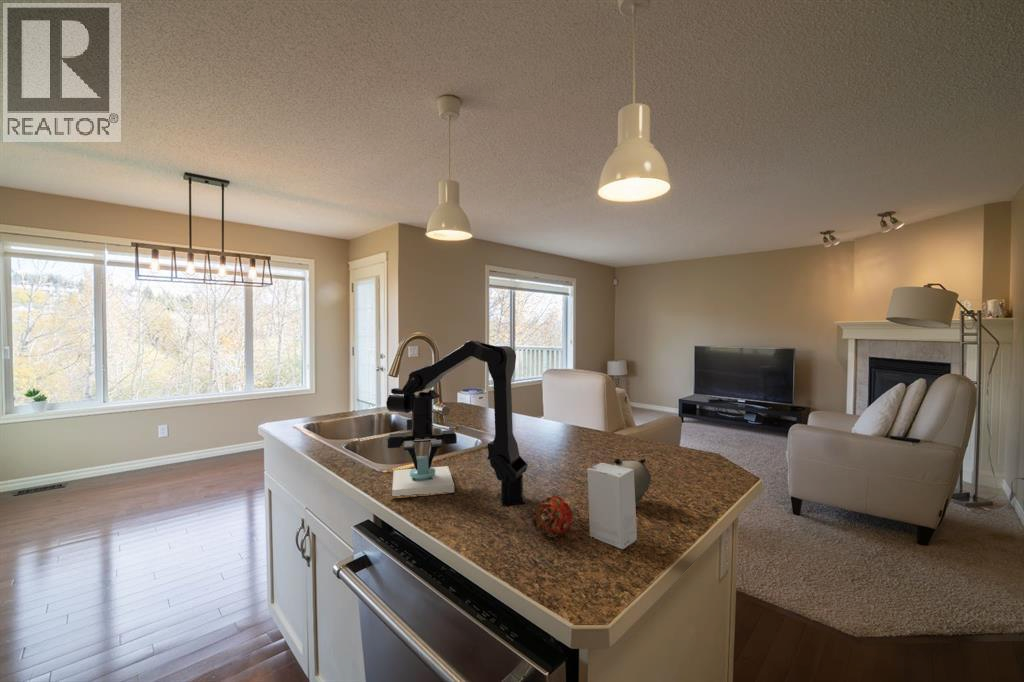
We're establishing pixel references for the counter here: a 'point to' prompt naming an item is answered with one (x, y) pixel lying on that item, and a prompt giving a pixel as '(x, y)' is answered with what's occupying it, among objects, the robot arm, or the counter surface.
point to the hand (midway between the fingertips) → (422, 469)
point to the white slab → (422, 482)
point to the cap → (422, 469)
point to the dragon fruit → (552, 516)
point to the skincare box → (612, 504)
